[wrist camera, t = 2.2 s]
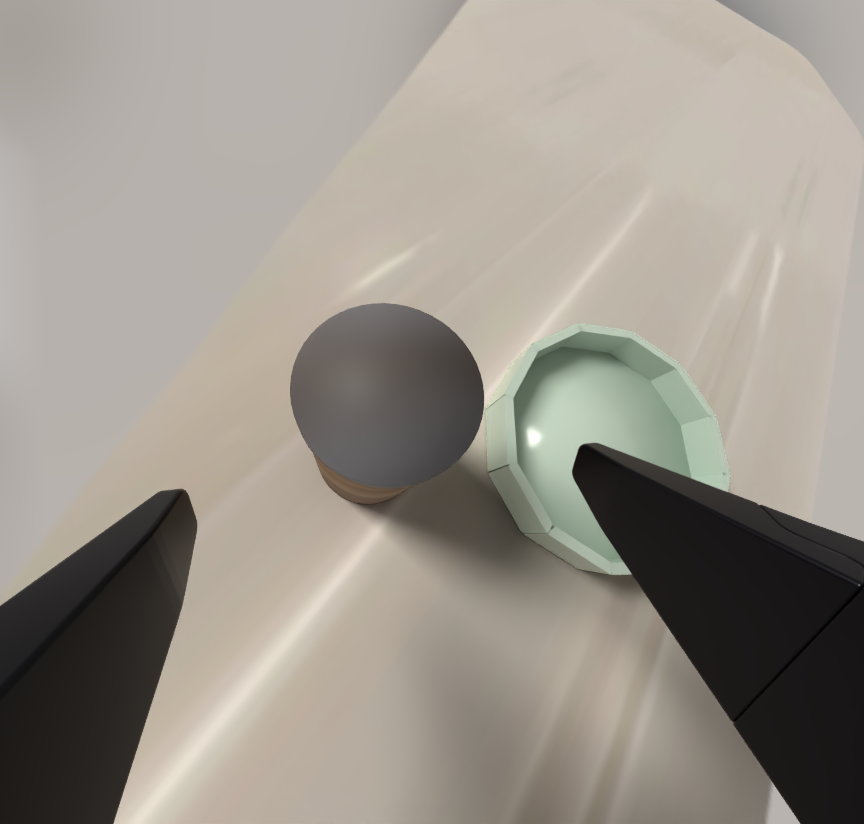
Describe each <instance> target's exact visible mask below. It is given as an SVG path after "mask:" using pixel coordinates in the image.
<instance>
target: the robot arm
mask: <svg viewBox="0 0 864 824" xmlns="http://www.w3.org/2000/svg"><path fill="white" fill-rule="evenodd" d="M572 476H573V479H574V481H575V483H576V484H577V486H578V488H579V490H580V492H581V493H582V495H583V497H584V499H585V501H586V503H587V504H588V506H589V508H590V510H591V512H592V513H593V515H594V517H595V519H596V521H597V522H598V524H599V526H600V528H601V529H602V531H603V532H604V534H605V535H606V537H607V538H608V540H609V541H610V543H611V544H612V546H613V547H614V549H615V550H616V552H617V553H618V555H619V556H620V558H621V559H622V561H623V562H624V564H625V565H626V566H627V568H628V569H629V571H630V572H631V574H632V575H633V577H634V578H635V580H636V581H637V583H638V584H639V586H640V587H641V589H642V590H643V592H644V593H645V594H646V596H647V597H648V599H649V600H650V602H651V603H652V605H653V606H654V608H655V609H656V611H657V612H658V614H659V615H660V617H661V618H662V620H663V621H664V622H665V624H666V625H667V627H668V628H669V630H670V631H671V633H672V634H673V636H674V637H675V639H676V640H677V642H678V643H679V645H680V646H681V648H682V649H683V650H684V652H685V653H686V655H687V656H688V658H689V659H690V661H691V662H692V664H693V665H694V667H695V668H696V670H697V671H698V673H699V674H700V676H701V677H702V679H703V680H704V681H705V683H706V684H707V686H708V687H709V689H710V690H711V692H712V693H713V695H714V696H715V698H716V699H717V701H718V702H719V704H720V705H721V707H722V708H723V709H724V711H725V712H726V714H727V715H728V717H729V718H730V720H731V721H732V722H733V725H734V726H735V728H736V729H737V731H738V732H739V734H740V735H741V737H742V738H743V740H744V741H745V742H746V744H747V745H748V747H749V748H750V750H751V751H752V753H753V754H754V756H755V757H756V759H757V760H758V762H759V763H760V765H761V766H762V768H763V769H764V771H765V772H766V773H767V775H768V776H769V778H770V779H771V781H772V782H773V784H774V785H775V787H776V788H777V790H778V791H779V793H780V794H781V796H782V797H783V799H784V800H785V802H786V803H787V804H788V806H789V807H790V809H791V810H792V812H793V813H794V815H795V816H796V818H797V819H798V821H799V822H800V824H864V542H863V541H861V540H857V539H855V538H852V537H849V536H846V535H843V534H840V533H837V532H834V531H832V530H829V529H826V528H823V527H820V526H817V525H814V524H812V523H809V522H806V521H803V520H801V519H798V518H795V517H793V516H790V515H787V514H784V513H782V512H779V511H776V510H774V509H771V508H769V507H766V506H763V505H758V504H757V503H755V502H752V501H750V500H747V499H745V498H742V497H739V496H737V495H734V494H731V493H729V492H726V491H723V490H721V489H718V488H716V487H713V486H710V485H708V484H705V483H702V482H700V481H697V480H694V479H692V478H689V477H687V476H684V475H681V474H679V473H676V472H673V471H671V470H668V469H665V468H663V467H660V466H658V465H655V464H652V463H650V462H647V461H644V460H642V459H639V458H636V457H634V456H631V455H628V454H626V453H623V452H621V451H618V450H615V449H613V448H610V447H607V446H605V445H602V444H599V443H586V444H582V445H581V446H580V447H579V449H578V451H577V455H576V458H575V461H574V465H573V468H572ZM196 533H197V520H196V516H195V513H194V510H193V507H192V504H191V501H190V498H189V495H188V493H187V492H186V490H184V489H174V490H165V491H160V492H158V493H157V494H155V495H154V496H152V497H151V498H150V499H148V500H147V501H145V502H144V503H143V504H141V505H140V506H138V507H137V508H136V509H134V510H133V511H131V512H130V513H129V514H127V515H126V516H124V517H123V518H122V519H120V520H119V521H118V522H116V523H115V524H113V525H112V526H111V527H109V528H108V529H106V530H105V531H104V532H102V533H101V534H99V535H98V536H97V537H95V538H94V539H92V540H91V541H90V542H88V543H87V544H86V545H84V546H83V547H81V548H80V549H79V550H77V551H76V552H74V553H73V554H72V555H70V556H69V557H67V558H66V559H65V560H63V561H62V562H61V563H59V564H58V565H56V566H55V567H54V568H52V569H51V570H49V571H48V572H47V573H45V574H44V575H42V576H41V577H40V578H38V579H37V580H35V581H34V582H33V583H31V584H30V585H29V586H27V587H26V588H24V589H23V590H22V591H20V592H19V593H17V594H16V595H15V596H13V597H12V598H10V599H9V600H8V601H6V602H5V603H3V604H2V605H1V606H0V824H113V823H114V820H115V817H116V814H117V811H118V807H119V804H120V801H121V798H122V795H123V792H124V789H125V785H126V782H127V779H128V776H129V773H130V770H131V767H132V763H133V760H134V757H135V754H136V751H137V748H138V745H139V741H140V738H141V735H142V732H143V729H144V726H145V723H146V719H147V716H148V713H149V710H150V707H151V704H152V701H153V697H154V694H155V691H156V688H157V685H158V682H159V679H160V676H161V672H162V669H163V666H164V663H165V660H166V657H167V654H168V650H169V647H170V644H171V641H172V638H173V635H174V632H175V628H176V625H177V622H178V619H179V615H180V612H181V609H182V605H183V600H184V596H185V591H186V586H187V581H188V575H189V570H190V565H191V560H192V554H193V549H194V544H195V539H196Z"/></svg>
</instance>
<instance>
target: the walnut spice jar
mask: <svg viewBox="0 0 864 824" xmlns="http://www.w3.org/2000/svg"><path fill="white" fill-rule="evenodd" d="M290 396H291V405H292V409H293V413H294V417H295V419H296V422H297V424H298V427H299V429H300V432H301V434H302V436H303V438H304V440H305V442H306V443H307V445H308V447H309V448H310V449H311V451H312V452H313V454H314V457H315V459H316V462H317V465H318V467H319V470H320V472H321V475H322V477H323V479H324V480H325V482H326V483H327V485H328V486H329V487H330V488H331V489H332V490H333V491H334V492H335V493H337V494H338V495H339V496H341V497H343V498H345V499H346V500H349V501H352V502H356V503H361V504H375V503H380V502H383V501H386V500H389V499H391V498H393V497H395V496H396V495H398V494H399V493H401V492H403V491H404V490H406V489H408V488H409V487H411V486H413V485H416V484H419V483H422V482H424V481H426V480H429V479H431V478H433V477H435V476H436V475H438V474H440V473H441V472H443V471H445V470H446V469H448V468H449V467H451V466H452V465H453V464H454V463H455V462H456V461H457V460H459V459H460V458H461V456H462V455H463V454H464V453H465V452H466V451H467V449H468V448H469V446H470V445H471V443H472V442H473V440H474V438H475V436H476V434H477V432H478V430H479V427H480V423H481V420H482V415H483V409H484V390H483V383H482V379H481V374H480V372H479V369H478V366H477V363H476V362H475V360H474V358H473V356H472V354H471V352H470V351H469V349H468V348H467V346H466V345H465V343H464V342H463V341H462V340H461V339H460V338H459V336H458V335H457V334H456V333H454V332H453V331H452V330H451V329H450V328H449V327H448V326H446V325H445V324H444V323H442V322H441V321H440V320H438V319H436V318H434V317H433V316H431V315H429V314H427V313H424V312H422V311H420V310H417V309H414V308H411V307H407V306H402V305H397V304H386V303H381V304H368V305H361V306H358V307H354V308H350V309H348V310H345V311H343V312H340V313H338V314H336V315H335V316H333V317H331V318H329V319H328V320H327V321H325V322H324V323H323V324H321V325H320V326H319V327H318V328H317V329H316V330H315V331H314V332H313V333H312V334H311V335H310V336H309V338H308V339H307V340H306V342H305V343H304V344H303V346H302V348H301V350H300V351H299V353H298V355H297V358H296V361H295V363H294V366H293V371H292V375H291V384H290Z"/></svg>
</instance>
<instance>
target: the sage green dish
mask: <svg viewBox="0 0 864 824" xmlns="http://www.w3.org/2000/svg"><path fill="white" fill-rule="evenodd" d="M485 417H486V443H487V470H488V472H490V473H488V474H489V476H490V478H491V480H492V481H493V483H494V485H495V487H496V488H497V490H498V492H499V494H500V496H501V497H502V499H503V501H504V503H505V504H506V506H507V508H508V510H509V511H510V513H511V515H512V517H513V519H514V520H515V522H516V524H517V526H518V527H519V529H520V531H521V532H523V534H524V535H525V536H527V537H529V538H530V539H532V540H533V541H535V542H536V543H538V544H539V545H541V546H543V547H544V548H546V549H547V550H549V551H550V552H552V553H553V554H555V555H557V556H558V557H560V558H561V559H563V560H564V561H566V562H567V563H569V564H571V565H572V566H574V567H575V568H577V569H581V570H586V571H592V572H598V573H604V574H609V575H632V574H631V572H630V571H629V569H628V568H627V566H626V565H625V564H624V562H623V561H622V559H621V558H620V556H619V555H618V553H617V552H616V550H615V549H614V547H613V546H612V544H611V543H610V541H609V540H608V538H607V537H606V535H605V534H604V532H603V531H602V529H601V528H600V526H599V524H598V522H597V521H596V519H595V517H594V515H593V513H592V512H591V510H590V508H589V506H588V504H587V503H586V501H585V499H584V497H583V495H582V493H581V492H580V490H579V488H578V486H577V484H576V483H575V481H574V479H573V476H572V468H573V465H574V461H575V458H576V455H577V451H578V449H579V447H580V446H581V445H582V444H586V443H599V444H602V445H605V446H607V447H610V448H613V449H615V450H618V451H621V452H623V453H626V454H628V455H631V456H634V457H636V458H639V459H642V460H644V461H647V462H650V463H652V464H655V465H658V466H660V467H663V468H665V469H668V470H671V471H673V472H676V473H679V474H681V475H684V476H687V477H689V478H692V479H694V480H697V481H700V482H702V483H705V484H708V485H710V486H713V487H716V488H718V489H721V490H723V491H726V492H727V491H728V487H729V482H730V478H731V477H730V476H731V475H730V471H729V467H728V463H727V459H726V454H725V450H724V446H723V442H722V438H721V434H720V430H719V425H718V421H717V417H716V416H715V413H714V411H713V410H712V409H711V407H710V406H709V404H708V403H707V401H706V400H705V398H704V397H703V396H702V394H701V393H700V391H699V390H698V388H697V387H696V386H695V384H694V383H693V381H692V380H691V378H690V377H689V375H688V374H687V373H686V371H685V370H684V368H683V367H682V365H681V364H680V365H679V362H677V361H676V360H674V359H673V358H671V357H670V356H668V355H667V354H665V353H664V352H662V351H661V350H659V349H658V348H656V347H655V346H653V345H652V344H650V343H649V342H647V341H646V340H644V339H643V338H641V337H640V336H638V335H637V334H636V333H634V332H633V331H630V330H623V329H617V328H610V327H603V326H596V325H589V324H583V323H577V324H575V325H572V326H570V327H568V328H566V329H564V330H561V331H559V332H557V333H555V334H553V335H551V336H548V337H546V338H544V339H542V340H540V341H537V342H535V343H533V344H531V345H530V346H529V347H528V348H527V349H526V350H525V351H524V352H523V353H522V354H521V355H520V356H519V357H518V358H517V359H516V360H515V361H514V362H513V363H512V364H511V365H510V367H509V369H508V370H507V372H506V374H505V376H504V378H503V379H502V381H501V383H500V385H499V386H498V388H497V390H496V392H495V394H494V395H493V397H492V399H491V401H490V402H489V404H488V406H487V408H486V411H485Z"/></svg>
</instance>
